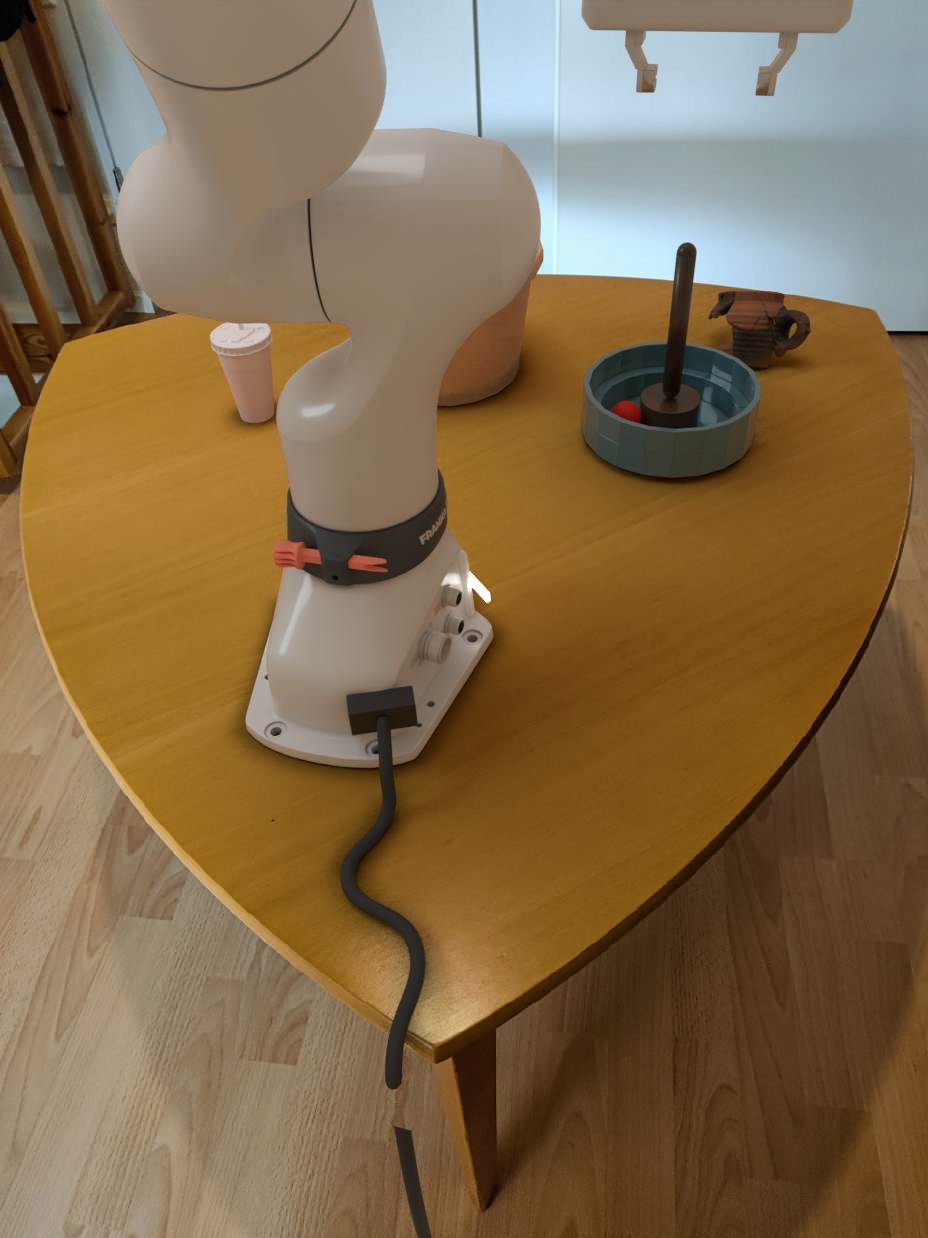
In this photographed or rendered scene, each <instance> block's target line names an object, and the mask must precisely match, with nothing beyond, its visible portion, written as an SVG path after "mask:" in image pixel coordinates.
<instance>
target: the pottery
mask: <svg viewBox="0 0 928 1238" xmlns="http://www.w3.org/2000/svg"><path fill="white" fill-rule="evenodd" d="M544 253H545V252H544V247H543V245H542V241H541V240H540V243H539V249H538V253H537V257H536V260H535V263H534V266H533V268H532V271H531V273H530V275H529V277H528V279H527V281H526V282H525V284H524V285H523V287H522V288H521V290H520V291H519V293H518V294H517V295H516V296H515V297H514V299H513V300H512V301H511V302H510V303H509V304H508V305H507V306H506V307H505V308H503V309H501V310H500V311H498V312H497V313H495V314H494V315H492V316H491V317H490V318H488V319H487V320H486V321H484V322H483V323H482V324H481V325H480V326H479V327H478V328H477V329H475V330H474V331H473V333H472V334H471V335H470V336H469V337H468V338H467V339H466V340H465V341H464V343H463V344H462V345H461V347H460V348H459V349H458V351H457V352H456V354H455V355H454V357H453V358H452V360H451V362H450V364H449V365H448V368H447V370H446V372H445V374H444V377H443V380H442V383H441V386H440V391H439V395H438V403H437V407H455V406H461V405H467V404H473V403H477V402H480V401H482V400H485V399H487V398H490V397H492V396H494V395H497V394H498V393H500V392H501V391H502V390H503V389H505V388H506V387H507V386H508V385H510V384H512V382H514V380H515V377H516V376H517V373H518V371H519V369H520V360H521V359H520V358H521V353H522V346H523V339H524V332H525V324H526V318H527V310H528V304H529V297H530V292H531V283H532V281H533V280H534V279H535V278H536V276H537V275H538V272H539V270H540V268H541V267H542V264H543V262H544Z"/></svg>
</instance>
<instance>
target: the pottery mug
mask: <svg viewBox="0 0 928 1238" xmlns="http://www.w3.org/2000/svg"><path fill="white" fill-rule="evenodd" d="M717 297H718V298H717V301H718V302H717V303H716V304H715V305H714V306H713V308H712V309H711V311H710V313H709V315H708V317H707V318H708V320H711V319H718V318H719V317H723V316H725V318H726V322H727V324H728V325H729V326H731V332H732V341H733V342H731V343H725V344H724V343H723V344H721V343H720V344H718V345H717V347H716V349H718V350H720V351H723V352H725V353H727V354H729V355H732V356H734V357H736V358H738V359H740V360H741V361H742V362H743V363H745V364H746V365H747V366H748V367H750V368H759V369H761V368H762V369H767V368H768V367H769V365H770V361H771V358H772V357H773V354H775V356H776V357H777V358H782V357H783V356H784V354H785V353H786V352H788V351H792V350H795V349H798V348H799V347H800V346H801V345H803V343H804V342H806V340H807V338H808V336H809V334H811V332H812V330H811V320H810V317H809V316H808V315H807V314H806V313H805V312H804V311H801V310H798V309H788V308H787V307H786V305H785V304H784V302H785V301H784V300H785V294H784V293H783V292H779V291H772V290H771V291H770V290H727V291H721V292H719V293H718V294H717ZM795 324H796V328H795V331H794V333H793V334H792V335H791V336H790V332H791V329H792V326H793V325H795Z"/></svg>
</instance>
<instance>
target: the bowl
mask: <svg viewBox="0 0 928 1238" xmlns="http://www.w3.org/2000/svg"><path fill="white" fill-rule="evenodd" d="M666 349H667V341H666V340H664V341H651V342H639V343H636V344H632V345H626V346H623V347H620V348H616V349H615V350H613V351H611V352H609V353H607V354H604V355H602V356H600V357H599V358H598V359H597V360H596V361H595V362H593V363H592V364H591V366H589V367H588V368H587V370H586V373H585V377H584V380H583V383H582V405H581V430H582V431H581V432H582V434H583V437H584V441H585V443H586V444H587V445H588V446H589V447H590V448H591V450H592V451H593V452H594V453H595V454H596V455H597V456H598V457H599V458H601V459H603V460H604V461H607V463H610V464H611V465H613V466H615V467H617V468H620V469H623V470H626V471H630V472H633V473H635V474H639V475H643V476H652V477H660V478H671V479H675V478H686V477H687V478H689V477H700V476H703V475H707V474H710V473H713V472H717V471H721V470H724V469H726V468H728V467H729V466H731V465H732V464H734V463H735V462H737V461H739V460H740V459H742V458H743V457H744V456H745V454H746V453H747V451H748V450H749V448H750V447H751V446H752V444H753V440H754V435H755V429H756V423H757V419H758V415H759V414H758V413H759V408H760V402H761V395H762V394H761V392H762V383H761V382H760V380H759V378H758V376H757V374H756V372H755V370H753V369H752V367H748V366H747V365H746V364H745V363H743V362H742V361H741V360H740V359H738V358H736V357H734V356H732V355H729V354H727V353H725V352H723V351H720V350H718V349H717V348H715V347H710V346H706V345H703V344H698V343H694V342H686V348H685V356H684V364H683V373H682V381H681V384H684V385H687V386H689V387H691V388H693V389H694V390H696V391H697V392H698V393H699V395H700V398H701V400H700V408H699V415H698V423H697V427H695V428H681V429H673V428H663V427H653V426H647V425H643V424H640V423H636V422H633V421H629V420H626V419H623V418H621V417H619V416H618V415H616V414H614V413H612V412H611V410H612V408H613V407H614V406H615V405H616V404H617V403H619V402H622V401H630V402H633V403H635V404H636V405H637V406H638V407H639V408H640V397H641V393H642V392H643V390H644V389H646V388H647V387H649V386H651V385H654V384H657V383H663V378H664V368H665V359H666Z"/></svg>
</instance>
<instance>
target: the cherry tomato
mask: <svg viewBox="0 0 928 1238" xmlns="http://www.w3.org/2000/svg"><path fill="white" fill-rule="evenodd" d="M611 412H612V413H614V414H616V415H618V416H619V417H621V418H623V419H626V420H629V421H633V422H636V423H640V422H641V411H640V409H639V407H638V406H637V405H636V404H635V403H633V402H630V401H622V402H619V403H617V404H616V405H615V406H614V407H613V408H612V410H611Z"/></svg>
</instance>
